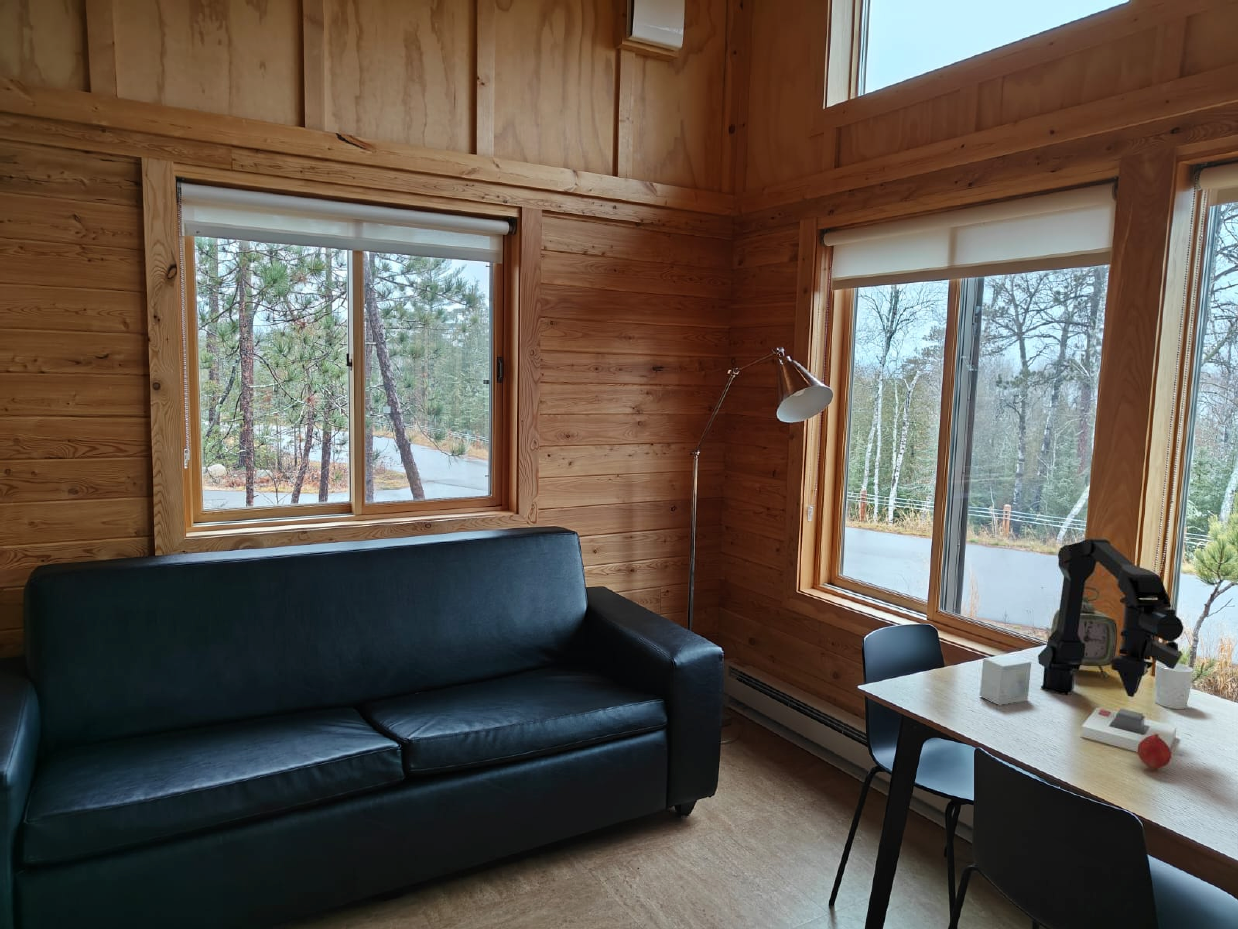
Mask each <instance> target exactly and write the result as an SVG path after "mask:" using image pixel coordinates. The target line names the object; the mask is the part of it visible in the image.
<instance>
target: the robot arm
mask: <svg viewBox="0 0 1238 929" xmlns="http://www.w3.org/2000/svg"><path fill="white" fill-rule="evenodd" d="M1057 553H1058V554H1057V558H1058V564H1057V565H1058V568H1059V570H1060V572H1061V574H1062V576H1063V580H1062V587H1061V588H1062V589H1061V595H1060V602H1059V609H1058V610H1059V616H1058V623H1057V629H1056V630H1055V631H1054V632H1053V633H1052V635H1051V634H1050V635H1049V637H1048V638H1047V643H1046V646H1045V647H1044V649H1042V651H1041V652H1040V653H1039V654H1038V655H1037V660H1038V664H1039V665H1040V666H1042V667H1043V676H1042V677H1043V678H1042V679H1043V680H1042V685H1041V686H1040V689H1041V690H1045V691H1049V692H1052V693H1057V694H1062V695H1065V696H1067V695H1069V694H1070V693H1072V692H1073V691H1074V689H1075V679H1076V674H1075V673H1074V669H1077V670H1076V671H1079V670H1080V669H1081V666H1082V665H1081V663H1082V660H1083V658H1084V650H1085V643H1083V642H1082V641H1081V639H1080V637H1079V635H1078V630H1079V623H1080V616H1081V609H1082V602H1083V598H1084V596H1085V594H1084V593H1085V589H1086V588H1085V586H1086V582H1087V580H1088V579H1089V578H1090V577H1091V575H1093V574H1094V573H1095V570H1096V566H1097V563H1099V564H1100V565H1101V566H1102V567H1103V568H1104V569H1106V570H1107V571H1108V573H1110V574H1111V575H1112V576H1114V578H1116V581H1117V587H1118V589H1119V590H1120V591H1121V593H1122V594H1123V595H1124V597H1122V598H1120V599H1119V603H1121V604H1124V614H1123V622H1122V623H1123V625H1122V630H1120V636H1121V647H1120V648H1119V650H1118V653H1119V654H1118V655H1117V656H1114V659H1113V660H1112V663H1111V665H1110V666H1111V669H1110V670H1113V671H1116V672H1117V673H1118V675H1119V677H1120V679H1121V682H1122V684H1123V687H1124V689H1125V692H1126V695H1127V696H1128V697H1131V698H1133V697H1134V696H1135V694H1136V693H1138V690H1139V687H1140V683H1141V682H1142V678H1143V677H1144V676H1145V675H1147V674H1148V672H1149V670H1148V669H1150V668H1152V667H1153V666H1154V664H1155V663H1154V662H1151V661H1150V660H1151V659H1152V660H1153V661H1156V662H1161V663H1163V664H1165V665H1166V666H1167V667H1169V668H1171V669H1174V668H1175V666H1176V664H1177V663H1179V661H1180V659H1181V658H1182V656H1183V653H1182V651H1181V650H1179V643H1178V642H1176V640H1178V639H1179V638H1180V637H1181V635H1182V634H1183V632H1184V625H1183V621H1181V620H1182V619H1180V618H1179V617H1178V616H1176V610H1175V609H1174V608H1171V607H1172V605H1171V602H1170V601H1171V598H1170V596H1169V595H1168V593H1167V591H1166V590H1167V589H1166V588H1165V586H1164V582H1163V580H1162V577H1160V576H1159V575H1158V574H1157V573H1155V572H1153V571H1151V570H1150V569H1147V568H1144V567H1142V566H1141V567H1140V566H1138V565H1136V564H1135V563H1133V562H1132V561H1131V560H1129V559H1128V558H1127V557H1126V556H1124V555H1123V554H1122V553H1121V552H1120V551H1119V550H1117V548H1115V547H1114V546H1112V545H1111V542H1110V541H1109V540H1108V539H1105V538H1091V537H1090V538H1087V539H1084V540H1082V541H1079V542H1076V543H1075V542H1074V543H1071V544H1070V543H1069V544H1064V545H1063V546H1061V547H1060V548H1059V551H1058V552H1057ZM1156 638H1159V639H1161V640H1163V641H1165V642H1166V643H1165V642H1163V641H1158V640H1156Z"/></svg>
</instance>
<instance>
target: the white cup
mask: <svg viewBox="0 0 1238 929" xmlns="http://www.w3.org/2000/svg"><path fill="white" fill-rule="evenodd" d="M1193 672H1194V668H1192V667H1191V666H1189V665H1186V664H1183V663H1179V662H1178V663H1177V664H1176V666H1175V668H1174V669H1171V668H1169V667H1167V666H1166V665H1165V664H1163V663H1161V662H1159V661H1156V662H1155V675H1154V691H1155V694H1154V695H1155V696H1154V697H1155V698H1154V700H1155V703H1156V704H1157V705H1160V706H1162V707H1166V708H1170V709H1173V708H1176V709H1175V710H1184V708H1185V709H1186V708H1188V702H1189V698H1190V692H1191V685H1192V679H1193Z"/></svg>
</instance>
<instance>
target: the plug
mask: <svg viewBox="0 0 1238 929" xmlns="http://www.w3.org/2000/svg"><path fill="white" fill-rule="evenodd" d="M1117 712H1118V713H1117V714H1116V721H1115V728H1118V729H1121V730H1125V731H1129V732H1133V733H1137V734H1141V735H1143V731H1144V720H1145V719H1146V718H1145V717H1146V716H1145V715H1144V713H1141V712H1138V711H1133V710H1130V709H1129V710H1128V709H1124V708H1120V709H1119V710H1118V711H1117Z"/></svg>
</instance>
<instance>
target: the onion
mask: <svg viewBox="0 0 1238 929" xmlns="http://www.w3.org/2000/svg"><path fill="white" fill-rule="evenodd" d="M1137 755H1138V758H1139V759H1140V760H1141V761H1142V763H1143V764H1145V766H1146V767H1147V768H1149V769H1150V770H1151V771H1158V770H1159V769H1161V768H1163V767H1165V766H1167V765H1168V764H1169V763H1170V761H1171V759H1172V752H1171V749H1169V747H1168V745H1167V744H1166V743H1165V742H1164V741H1163V740H1162V739H1161V738H1160V737H1159V734H1158V733H1155V734H1154V735H1151V736H1149V737H1146V738H1145V739H1144V740H1142V741H1141V742H1140V744H1139V745H1138V752H1137Z"/></svg>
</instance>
